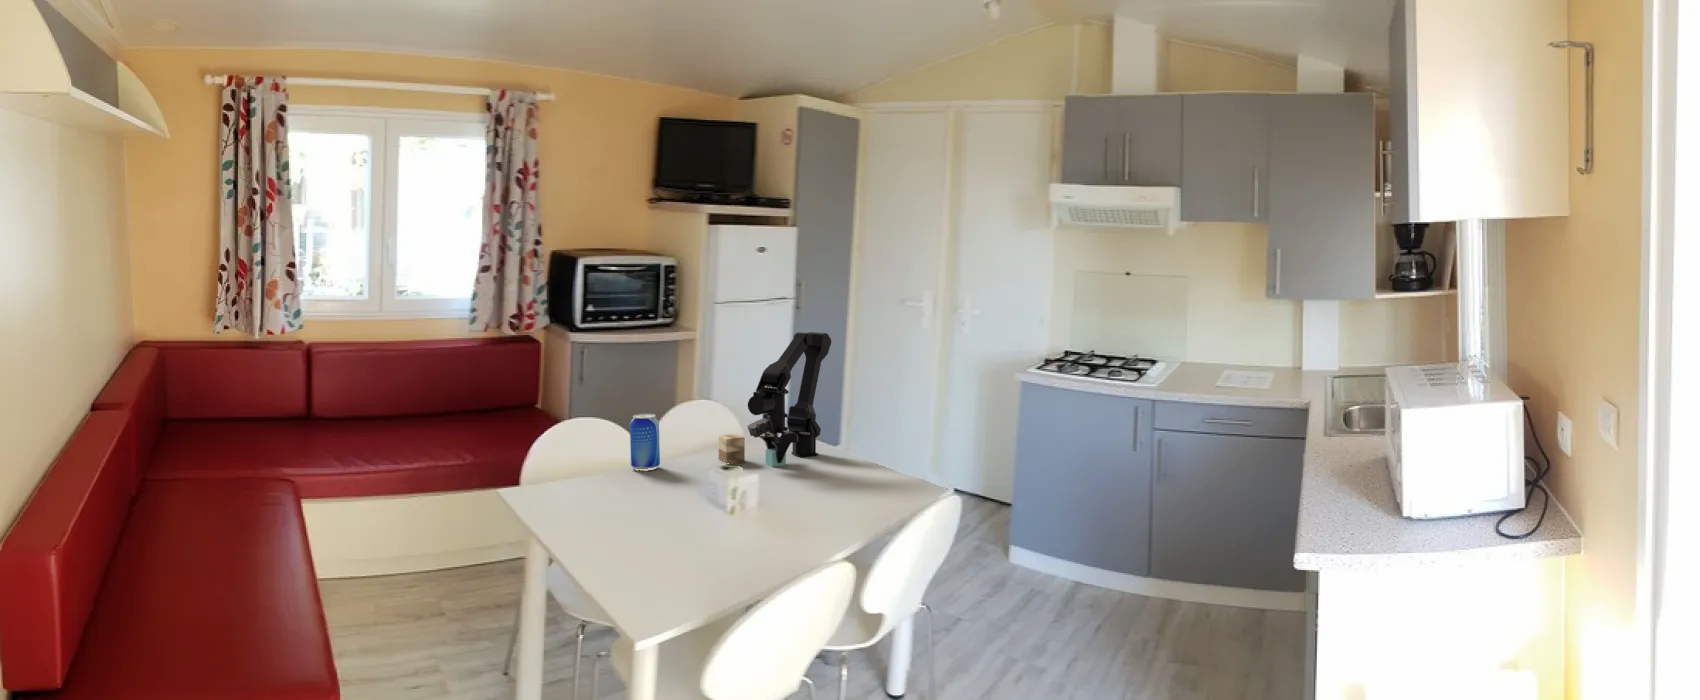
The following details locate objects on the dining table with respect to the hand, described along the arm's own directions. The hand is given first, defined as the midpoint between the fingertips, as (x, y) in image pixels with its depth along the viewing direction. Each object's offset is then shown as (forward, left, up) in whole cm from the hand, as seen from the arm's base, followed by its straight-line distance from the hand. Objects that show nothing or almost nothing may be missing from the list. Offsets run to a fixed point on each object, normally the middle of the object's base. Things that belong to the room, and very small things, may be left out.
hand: (775, 461), depth 309 cm
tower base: (+10, -10, -1) cm, 14 cm away
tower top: (+10, -10, +3) cm, 14 cm away
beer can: (+36, -14, -1) cm, 39 cm away
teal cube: (0, 0, -1) cm, 1 cm away
